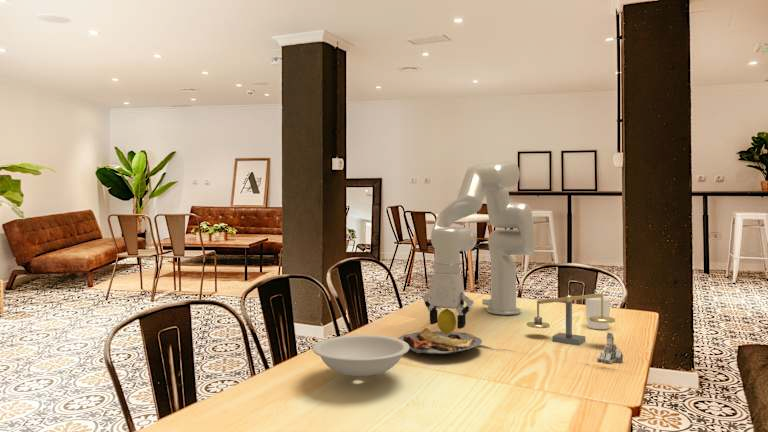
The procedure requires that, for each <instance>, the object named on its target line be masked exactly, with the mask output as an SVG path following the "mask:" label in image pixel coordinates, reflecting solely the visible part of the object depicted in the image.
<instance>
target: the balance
mask: <svg viewBox="0 0 768 432" xmlns="http://www.w3.org/2000/svg"><path fill="white" fill-rule="evenodd" d="M599 297H601V316H592V317H589V320H590V321H593V322H599V323H609V324H612V323H615V322H616V318H614V317H612V316H611V317H610V316H609V317H605V316H603V297H604V293H602V292H601V293H591V294H584V295H574V296H573V295H570V294H569V295H566V296H565V297H558V298H557V297H556V298H547V299H540V300H536V316H534V317H533V321H528V322H526V326H527V327H529V328H533V329H547V328H550V326H551V325H550V323H548V322H544V321H543V317H541V316H540V305H541V304H543V305H544V304H549V303H551V304H553V303H558V302H559V303H561V302H565V332H558V333H555V334H554V335H552V337H551V339H552V342H556V343H563V344H570V345H575V346H581V345H582V344H583V343H585V342H586V335H578V334H573V301H578V300H585V299H589V298H599Z"/></svg>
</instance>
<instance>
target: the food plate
mask: <svg viewBox="0 0 768 432" xmlns="http://www.w3.org/2000/svg"><path fill="white" fill-rule="evenodd" d="M398 339H400V340H403V341H405V342H406V343H408V344H409V347H410V348H409V350H410V351H412V352H414V353H415V354H427V355H429V354H432V355H433V354H434V355H436V354H439V355H448V354H455V353H457V354H458V353H460V352H463V351H466V350H470V349H472V348H473V349H474V348H476V347H479V346H481V345H482V344H483V339H482V338H481V337H478V336H475V335H473V334H471V333H468V332H467V333H466V332H458V331H457V332H455V331H452V332H450V333H449V334H448V335H446V334H445V333H444V332H442V331H441V330H440V331H439V330H438V331H437V330H436V331H431V329H429V328H424V329H423V330H422V331H420V332H413V333H410V334H405V335H402V336H400V337H399V338H398Z"/></svg>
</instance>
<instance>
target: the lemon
mask: <svg viewBox="0 0 768 432" xmlns="http://www.w3.org/2000/svg"><path fill="white" fill-rule="evenodd" d="M456 318H457V317H456V315H455V313H454V312H453V311H452V310H450V308H444V309H442V310H441V311H440V313H439V315H438V322H437V326H438V329H439V330H440V331H442V332H444V333H445V334H446V335H448V334H449V333H450V332H454V330H455V329H456V327H457V319H456Z"/></svg>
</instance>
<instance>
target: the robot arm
mask: <svg viewBox="0 0 768 432" xmlns="http://www.w3.org/2000/svg"><path fill="white" fill-rule="evenodd" d="M520 174H521V172H520V169H519V166H518V165H517V164H516V163H515V162H512V161H511V162H509V161H508V162H483V163H478V164H475V165H472V166H470V167H469V168H468V169H467V170H466V171H465V173H464V177H463V179H462V182H461V186H460V189H459V191H458V194H457V197H456V198H455V200H453V201H452V202H451V203H450V204H448V205H447V206H445V208H443V209H442V210H441V211H440V212H439V213H438V215H437V216H436V219H435V221H434V225H433V227H432V229H431V235H430V242H431V245H432V247H433V248H434V263H433V264H432V265H431V269H432V270H434V272H432V274H431V278H430V284H429V292H428V293H425V294H423V295H422V299H423V300H422V301H424V305H425V307H426V308H427V311H429V324H430V325H435V324H438V316H439V315H438V311H439V310H436V308H437V307H443V308H444V309H455V310H456V312H457V313H458V315H457V316H456V318H457V319H456V327H457V329H458V330H461V329H463V328H465V326H466V315H467V314H468V313H469V311H470V310H471V308H472V306H473V304H474V300H473V299H471V298H470V297H468V295H465V287H464V281H463V276H462V273H461V270H460V268H461V267H460V265H461V264H460V263H461V262H460V260H461V259H460V257H461V256H460V255H461V254H460V252H468V251H472V250H473V249H474V247H475V246H476V244H477V242H478V241H477V240H478V237H477V233H476V232H475V231H474V230H473V229H472V228H471V227H467V226H464V227H463V226H452V225H453V224H455V222H457V221H459V220H462V219H464V218H467V217H469V216H472V215H474V214H476V213H478V212H479V211H480V210H481V209H482V206H483V204H484V200H485V201H486V208H487V216H488V220H489V224H490V226H492V227H493V228H497V229H495V230H493V231H491V232H490V233H489V235H488V237H487V243H488V249H489V256H490V258H489V259H490V298H489V299H482V301H481V303H482V305H485V306H488V307H486V312H488V313H490V314H493V315H502V316H503V315H506V316H511V315H517V314H520V313H521V309H520V308H519V307H517V265H516V262H515V261H514V259H513V258H512V256H530V255H532V254H533V253H534V252H535V249H536V235H535V227H534V226H535V225H534V217H533V211H532V208H531V207H530V205H529V204H528V203H525V202H512V201H511V199H510V193H509V189H510V188H512V187H515V186H516V185H518V183H519V180H520V178H521V177H520V176H521V175H520ZM500 228H501V229H500ZM465 303H466V304H465ZM464 305H465V306H464Z"/></svg>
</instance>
